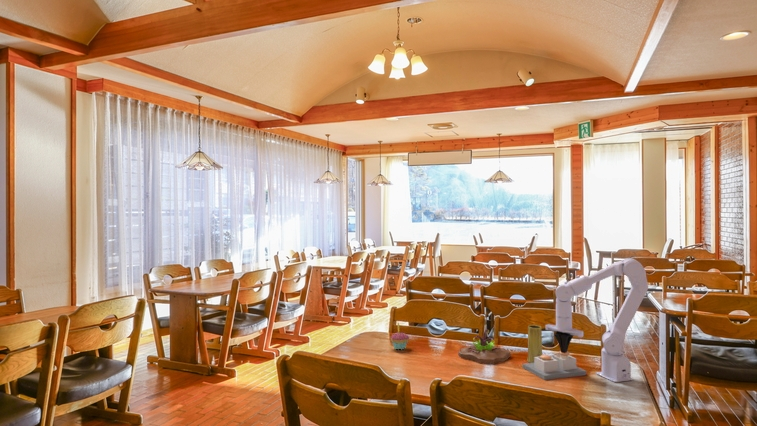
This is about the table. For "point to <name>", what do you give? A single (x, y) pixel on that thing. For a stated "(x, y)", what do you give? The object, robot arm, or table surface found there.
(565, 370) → the panel
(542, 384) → the table surface
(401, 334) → the cupcake
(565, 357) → the knob
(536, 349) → the vase
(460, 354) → the plant
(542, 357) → the knob
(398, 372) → the table surface
